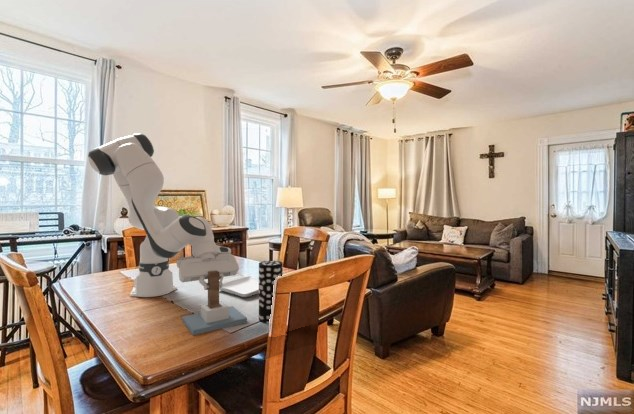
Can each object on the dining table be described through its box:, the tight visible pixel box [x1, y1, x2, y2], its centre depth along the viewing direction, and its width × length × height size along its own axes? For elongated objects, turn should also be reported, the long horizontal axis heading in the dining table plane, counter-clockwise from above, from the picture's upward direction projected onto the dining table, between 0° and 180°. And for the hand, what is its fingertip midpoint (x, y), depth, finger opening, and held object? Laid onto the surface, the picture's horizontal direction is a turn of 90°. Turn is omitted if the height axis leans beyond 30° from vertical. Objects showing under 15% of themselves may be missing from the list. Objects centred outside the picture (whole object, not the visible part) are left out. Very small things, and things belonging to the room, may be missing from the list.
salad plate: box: [219, 275, 259, 298], centre depth 144 cm, size 21×21×3 cm
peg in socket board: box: [182, 300, 248, 336], centre depth 108 cm, size 14×18×6 cm
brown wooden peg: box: [207, 270, 220, 308], centre depth 107 cm, size 3×3×12 cm
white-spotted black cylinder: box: [258, 260, 284, 324], centre depth 110 cm, size 8×8×20 cm
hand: (214, 287), depth 106 cm, fingers closed on brown wooden peg, 3 cm apart
